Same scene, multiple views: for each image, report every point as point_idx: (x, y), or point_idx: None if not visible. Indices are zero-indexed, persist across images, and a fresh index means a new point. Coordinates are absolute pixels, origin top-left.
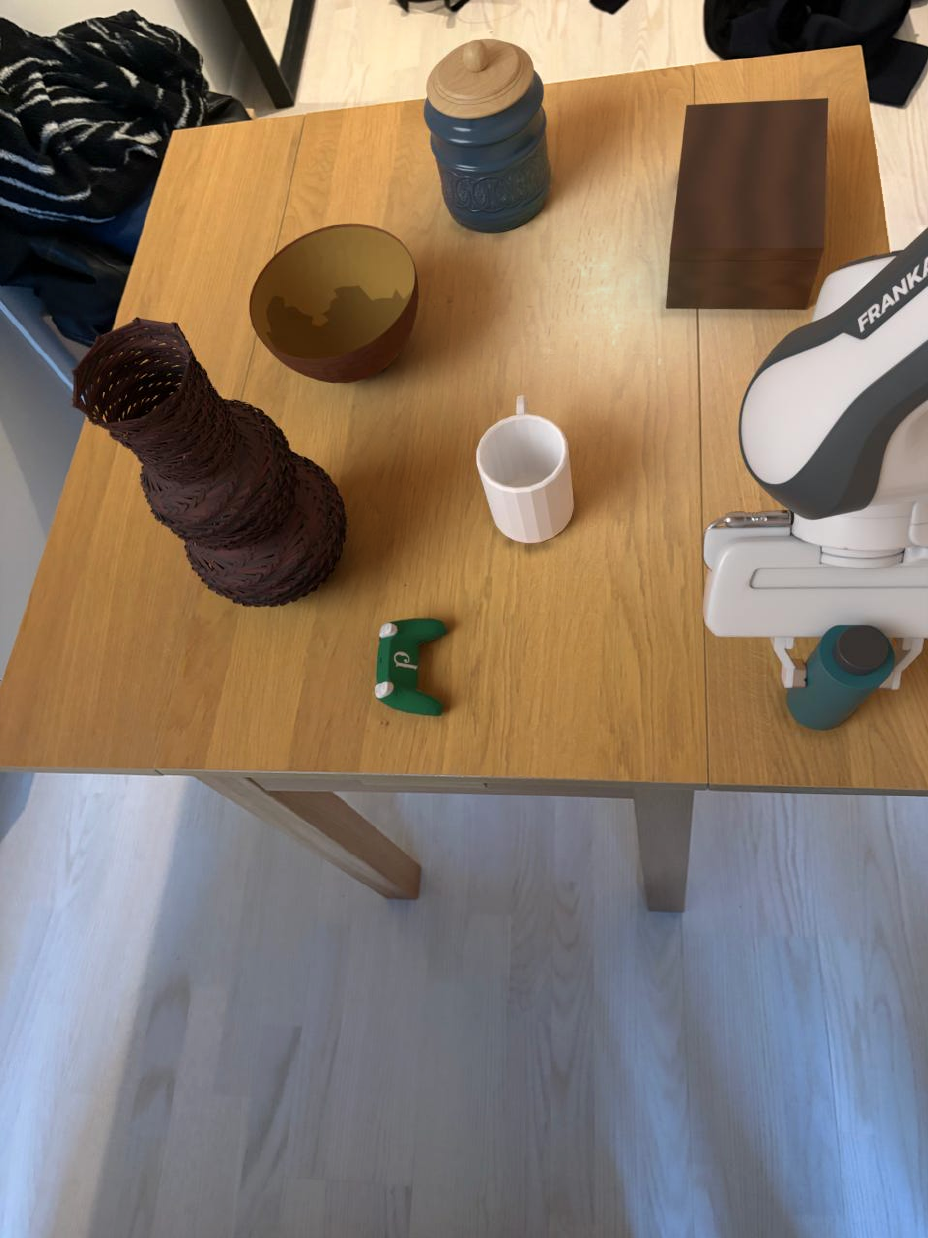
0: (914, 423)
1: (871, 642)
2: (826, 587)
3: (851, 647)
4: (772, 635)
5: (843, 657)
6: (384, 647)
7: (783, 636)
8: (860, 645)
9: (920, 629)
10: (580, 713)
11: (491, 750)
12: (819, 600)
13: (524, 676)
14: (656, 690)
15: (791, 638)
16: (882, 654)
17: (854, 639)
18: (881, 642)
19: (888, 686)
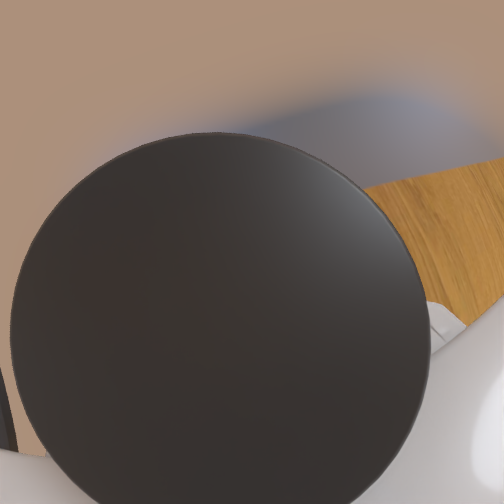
0: None
1: (125, 418)
2: None
3: (312, 302)
4: (495, 308)
5: (342, 184)
6: None
7: (476, 323)
8: (224, 357)
9: (34, 482)
10: (461, 224)
11: (481, 176)
12: (490, 497)
13: (500, 244)
14: (424, 275)
15: (435, 346)
16: (33, 310)
17: (301, 409)
18: (58, 424)
19: None
